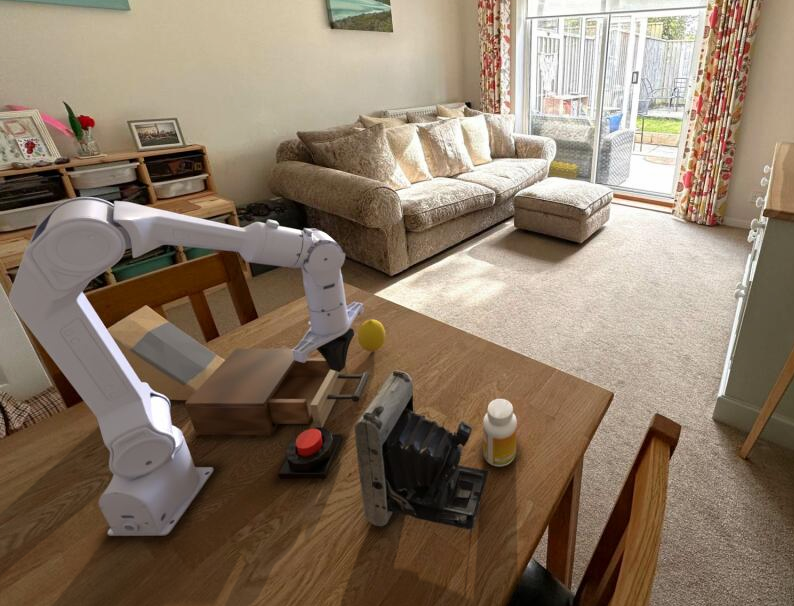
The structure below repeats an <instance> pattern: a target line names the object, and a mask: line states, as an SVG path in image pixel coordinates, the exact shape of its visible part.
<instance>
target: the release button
mask: <svg viewBox="0 0 794 606" xmlns="http://www.w3.org/2000/svg"><path fill="white" fill-rule="evenodd" d="M305 430H306V431H305ZM305 430H303V431H304V432H303V431H301V432H302V433H301V432H300V433H301V434H300V433H299V434H300V435H299V436H298V437H297V439H296V447H297V451H298V454H299V455H301V456H310V455H312V454H315V453H316V452H317V451H318V450H319V449H320V448H321V446H322V443H323V441H322V436H321V432H320V431H319V430H317V429H311V428H308V429H305Z"/></svg>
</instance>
